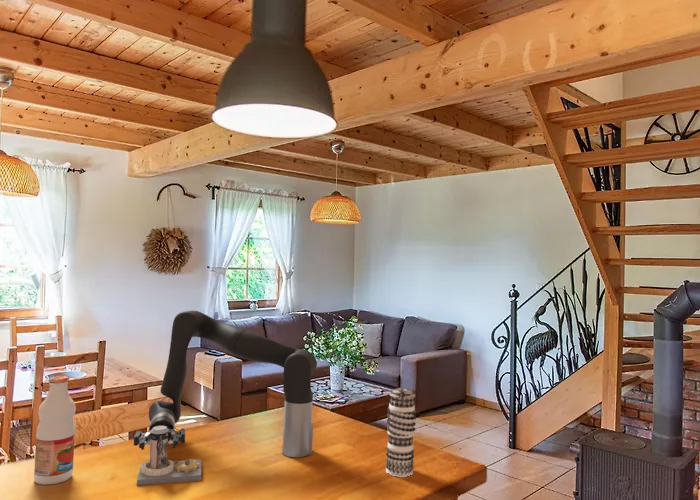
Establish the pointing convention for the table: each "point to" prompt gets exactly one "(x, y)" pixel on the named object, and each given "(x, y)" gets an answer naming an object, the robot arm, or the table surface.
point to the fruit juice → (55, 435)
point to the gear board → (170, 472)
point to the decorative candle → (400, 432)
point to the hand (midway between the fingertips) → (158, 445)
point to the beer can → (158, 447)
